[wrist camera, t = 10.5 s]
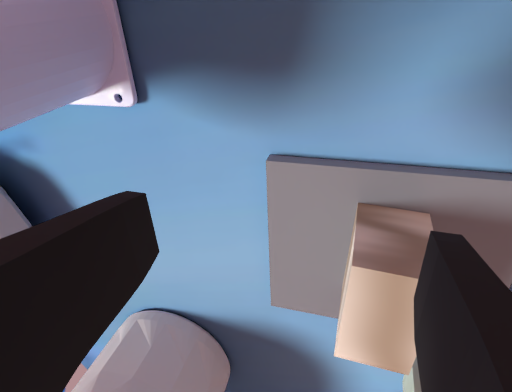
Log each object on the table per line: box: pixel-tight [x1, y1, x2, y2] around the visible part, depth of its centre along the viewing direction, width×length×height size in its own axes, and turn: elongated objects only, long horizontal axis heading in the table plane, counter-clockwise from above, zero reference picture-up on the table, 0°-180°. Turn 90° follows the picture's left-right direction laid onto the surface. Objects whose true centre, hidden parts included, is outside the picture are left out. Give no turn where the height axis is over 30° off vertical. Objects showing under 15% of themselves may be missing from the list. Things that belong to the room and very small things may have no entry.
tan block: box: [334, 203, 433, 375], centre depth 18 cm, size 4×6×5 cm, turn 0°
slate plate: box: [266, 155, 512, 319], centre depth 20 cm, size 13×11×1 cm
